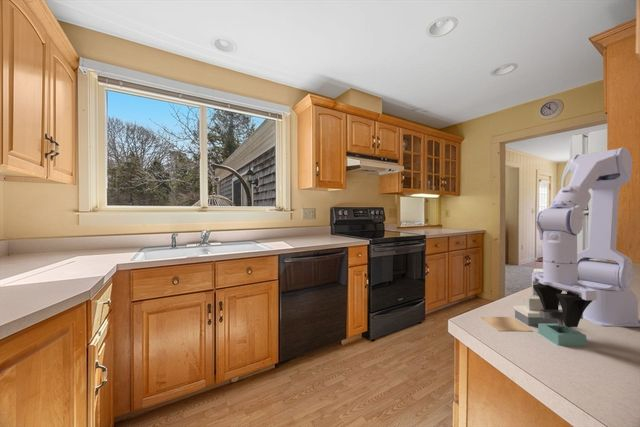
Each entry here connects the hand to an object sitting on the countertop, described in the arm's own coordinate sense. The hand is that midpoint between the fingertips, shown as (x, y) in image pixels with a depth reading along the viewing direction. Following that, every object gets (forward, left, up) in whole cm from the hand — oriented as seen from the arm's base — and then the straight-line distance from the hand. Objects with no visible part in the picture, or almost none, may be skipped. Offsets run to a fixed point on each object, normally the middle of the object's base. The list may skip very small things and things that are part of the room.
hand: (560, 321), depth 58 cm
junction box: (-1, -9, -4) cm, 10 cm away
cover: (-1, -9, -2) cm, 9 cm away
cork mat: (+8, -7, -4) cm, 11 cm away
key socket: (0, 0, -4) cm, 4 cm away
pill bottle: (-14, -24, -4) cm, 29 cm away
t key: (0, 0, -4) cm, 4 cm away
